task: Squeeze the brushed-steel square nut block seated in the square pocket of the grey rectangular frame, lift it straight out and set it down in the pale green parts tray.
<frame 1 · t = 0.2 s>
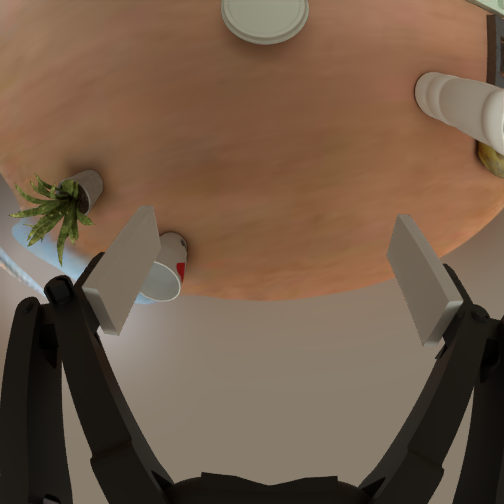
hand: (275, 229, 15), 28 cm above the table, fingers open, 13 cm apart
house plant: (91, 175, 44), on the table
decorative figurine: (488, 144, 35), on the table
coffee cup: (267, 21, 30), on the table
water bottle: (432, 94, 32), on the table
cup: (173, 243, 51), on the table
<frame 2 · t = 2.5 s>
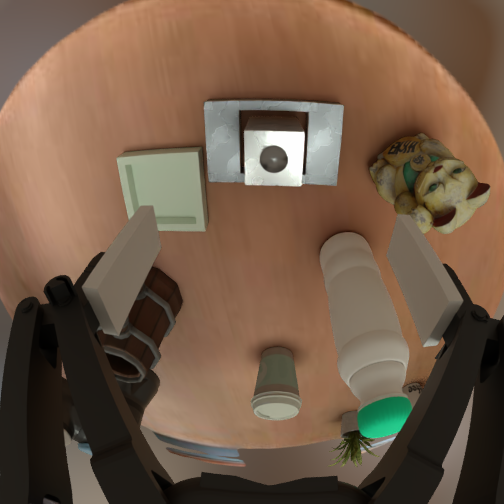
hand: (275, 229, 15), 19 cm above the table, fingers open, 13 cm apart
parts tray: (166, 187, 35), on the table
house plant: (346, 414, 70), on the table
decorative figurine: (403, 164, 32), on the table
grey rectangular frame: (273, 137, 31), on the table
coffee cup: (277, 354, 54), on the table
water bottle: (343, 251, 39), on the table
nut block: (273, 147, 28), in the grey rectangular frame
cup: (409, 387, 62), on the table
mug: (147, 282, 45), on the table
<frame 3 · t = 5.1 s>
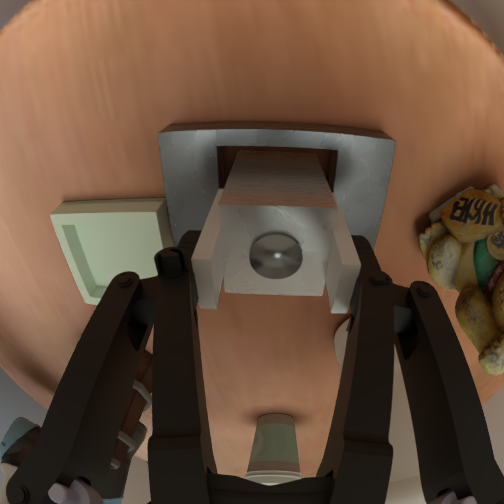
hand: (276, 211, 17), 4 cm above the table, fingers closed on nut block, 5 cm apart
parts tray: (122, 250, 24), on the table
decorative figurine: (460, 223, 21), on the table
grey rectangular frame: (276, 185, 20), on the table
coffee cup: (275, 418, 43), on the table
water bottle: (366, 328, 28), on the table
nut block: (276, 214, 17), in the grey rectangular frame, touching gripper
mug: (118, 349, 34), on the table
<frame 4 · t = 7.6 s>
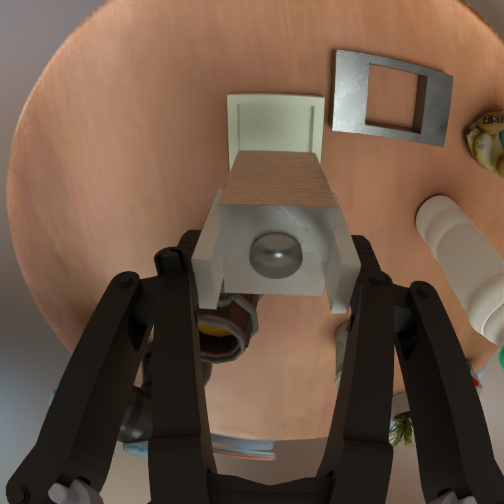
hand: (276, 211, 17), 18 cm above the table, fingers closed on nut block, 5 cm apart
parts tray: (275, 135, 32), on the table
house plant: (396, 396, 67), on the table
decorative figurine: (486, 136, 28), on the table
grey rectangular frame: (389, 96, 28), on the table
coffee cup: (351, 329, 51), on the table
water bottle: (434, 215, 36), on the table
nut block: (276, 214, 17), point 19 cm above the table, touching gripper
cup: (458, 365, 58), on the table
mug: (228, 247, 42), on the table
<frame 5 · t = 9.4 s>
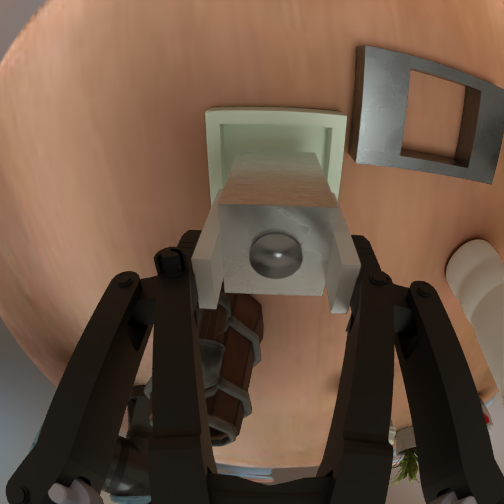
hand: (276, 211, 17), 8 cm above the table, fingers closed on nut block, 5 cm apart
parts tray: (274, 166, 24), on the table
house plant: (401, 430, 58), on the table
grey rectangular frame: (430, 114, 19), on the table
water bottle: (467, 260, 28), on the table
nut block: (276, 214, 17), point 8 cm above the table, touching gripper
cup: (468, 398, 50), on the table
mug: (216, 302, 34), on the table
when the fingers open (6 cm above the table, at t = 10.6 s): nut block drops 1 cm, resting on parts tray.
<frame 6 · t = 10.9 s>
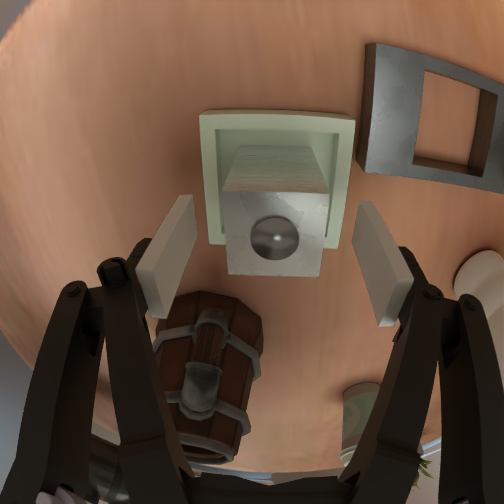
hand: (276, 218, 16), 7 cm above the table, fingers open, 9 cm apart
parts tray: (275, 174, 22), on the table
house plant: (403, 436, 57), on the table
grey rectangular frame: (443, 119, 18), on the table
coffee cup: (361, 390, 40), on the table
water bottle: (476, 272, 26), on the table
nut block: (275, 203, 18), in the parts tray, point 5 cm above the table
mug: (214, 315, 32), on the table
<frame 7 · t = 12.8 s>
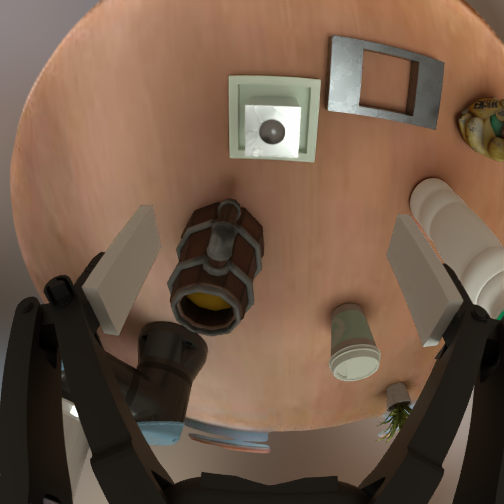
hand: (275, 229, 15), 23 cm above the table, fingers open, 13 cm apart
parts tray: (273, 115, 33), on the table
house plant: (391, 386, 68), on the table
decorative figurine: (479, 122, 29), on the table
grey rectangular frame: (383, 81, 29), on the table
coffee cup: (346, 313, 52), on the table
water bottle: (428, 197, 37), on the table
nut block: (272, 123, 29), in the parts tray, point 5 cm above the table
mug: (227, 225, 43), on the table
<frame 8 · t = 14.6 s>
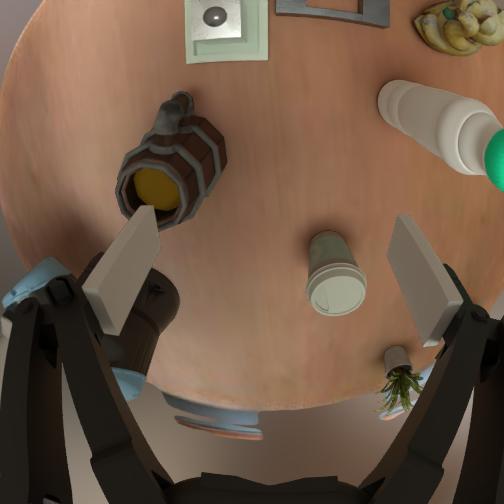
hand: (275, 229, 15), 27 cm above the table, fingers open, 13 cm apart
parts tray: (228, 26, 29), on the table
house plant: (389, 350, 64), on the table
decorative figurine: (439, 29, 25), on the table
coffee cup: (327, 244, 48), on the table
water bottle: (398, 103, 33), on the table
nut block: (221, 21, 25), in the parts tray, point 5 cm above the table
mug: (188, 139, 39), on the table
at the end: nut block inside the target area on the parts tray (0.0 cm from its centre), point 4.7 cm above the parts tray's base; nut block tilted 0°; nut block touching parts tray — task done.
